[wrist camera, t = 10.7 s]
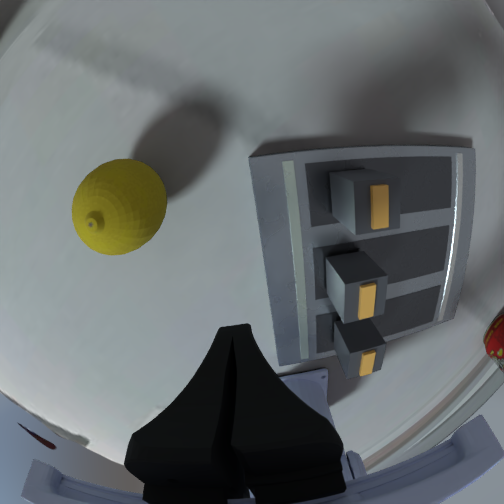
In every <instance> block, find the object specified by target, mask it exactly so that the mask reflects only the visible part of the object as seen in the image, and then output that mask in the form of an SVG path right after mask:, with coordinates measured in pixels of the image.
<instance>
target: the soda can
mask: <svg viewBox="0 0 504 504" xmlns="http://www.w3.org/2000/svg"><path fill="white" fill-rule="evenodd" d="M483 342H484V344H485V348H486V352H487V354H488V355H489V356H490V357H491V358H492V360H493V361H494V362H495V363H496V364H497V366H498V367H499V368H500V369H501V370H502V372H503V373H504V313H503V314H500V315H499V316H497V317H496V318H495V319H494V321H493V322H492V323H491V324H490V326H489V327H488V329H487V331H486V333H485V335H484V339H483Z"/></svg>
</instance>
